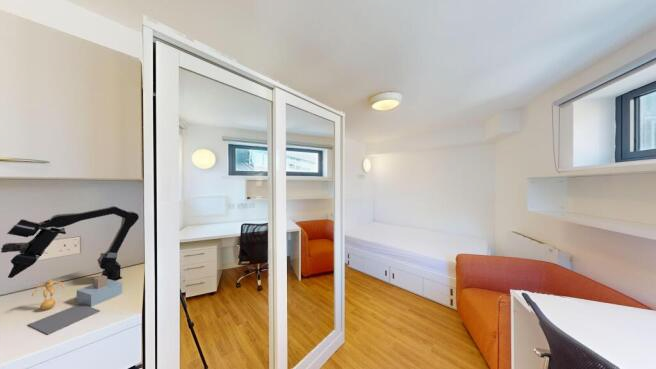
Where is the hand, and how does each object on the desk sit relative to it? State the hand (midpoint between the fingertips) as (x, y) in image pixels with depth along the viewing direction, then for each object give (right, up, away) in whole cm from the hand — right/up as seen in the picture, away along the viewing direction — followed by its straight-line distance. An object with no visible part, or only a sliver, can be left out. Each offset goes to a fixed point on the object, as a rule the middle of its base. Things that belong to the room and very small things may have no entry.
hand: (12, 274), depth 87 cm
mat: (+30, -16, -5) cm, 35 cm away
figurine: (+15, -15, 0) cm, 22 cm away
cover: (+28, -15, +9) cm, 33 cm away
